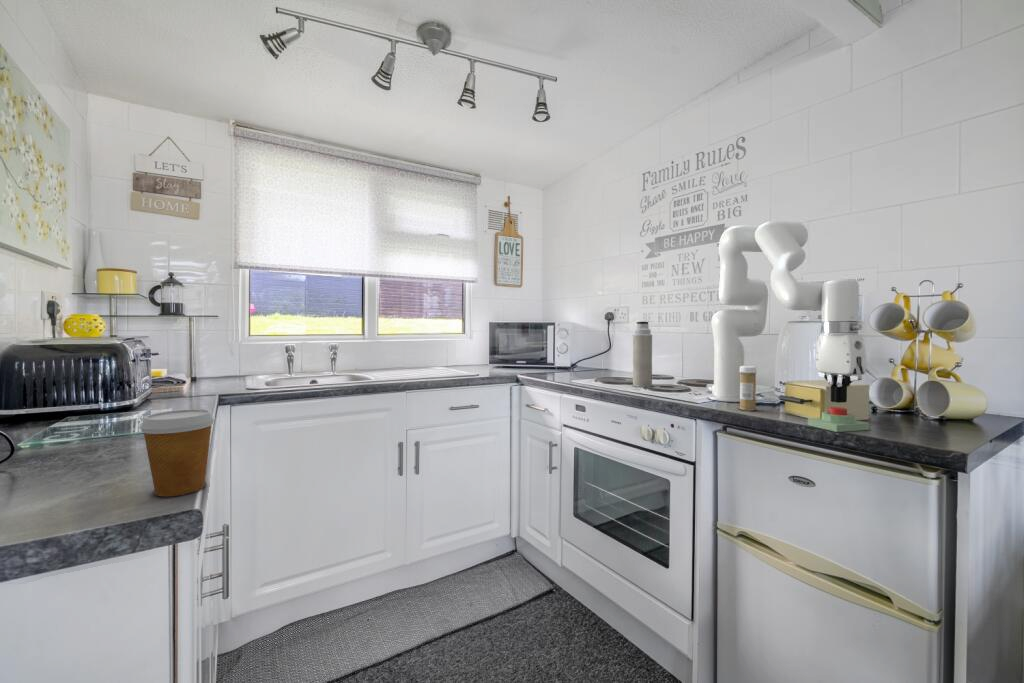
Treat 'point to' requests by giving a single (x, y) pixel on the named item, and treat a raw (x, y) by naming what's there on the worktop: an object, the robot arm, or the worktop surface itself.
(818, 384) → the drawer cabinet
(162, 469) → the disposable coffee cup
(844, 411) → the button
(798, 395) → the yellow drawer
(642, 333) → the thermos bottle
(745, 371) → the sprinkles bottle
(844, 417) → the control block
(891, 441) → the worktop surface
